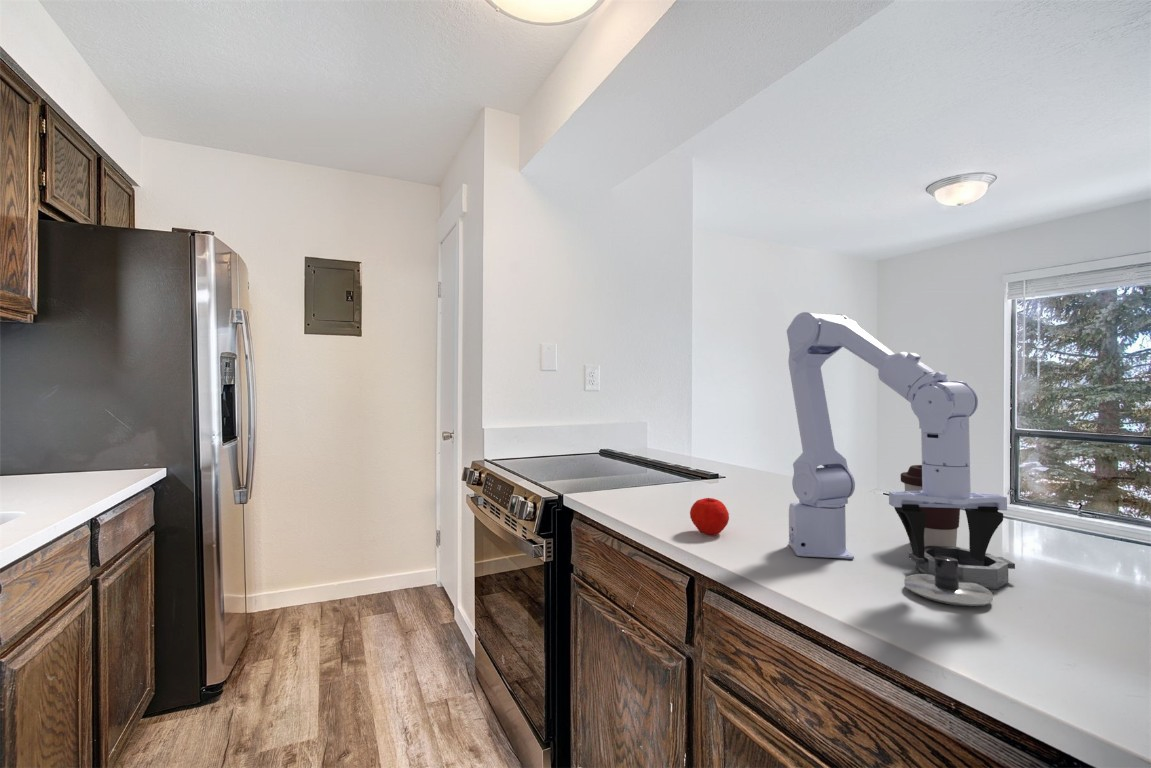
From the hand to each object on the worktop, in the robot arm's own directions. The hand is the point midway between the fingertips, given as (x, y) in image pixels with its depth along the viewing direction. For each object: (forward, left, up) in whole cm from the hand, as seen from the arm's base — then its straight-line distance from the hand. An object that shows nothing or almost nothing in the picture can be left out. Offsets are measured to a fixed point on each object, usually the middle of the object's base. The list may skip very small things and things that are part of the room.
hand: (947, 557), depth 75 cm
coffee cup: (+9, +25, -6) cm, 27 cm away
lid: (0, 0, -6) cm, 6 cm away
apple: (-32, +27, -6) cm, 42 cm away
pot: (+6, +9, -6) cm, 12 cm away
